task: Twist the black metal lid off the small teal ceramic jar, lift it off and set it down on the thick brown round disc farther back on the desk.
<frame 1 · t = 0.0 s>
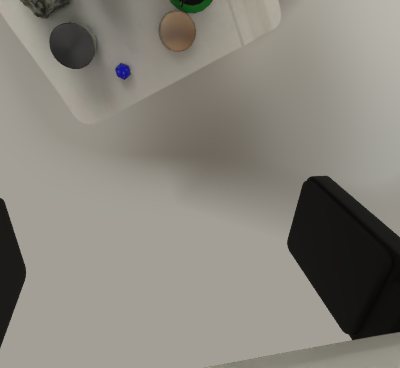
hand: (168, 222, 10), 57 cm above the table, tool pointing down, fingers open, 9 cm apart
brown round disc: (176, 31, 58), on the table
lid: (72, 46, 48), point 9 cm above the table, screwed on, not yet turned
die: (123, 70, 60), on the table
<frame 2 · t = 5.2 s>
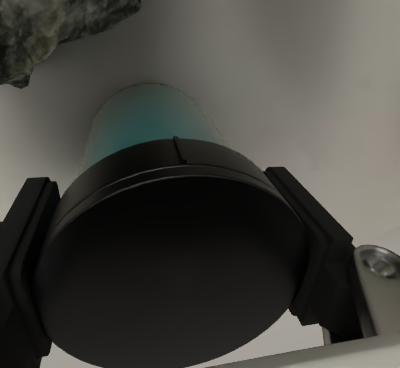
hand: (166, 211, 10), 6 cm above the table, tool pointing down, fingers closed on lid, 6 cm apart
lid: (180, 281, 8), point 9 cm above the table, screwed on, not yet turned, touching gripper
jar: (153, 145, 15), on the table
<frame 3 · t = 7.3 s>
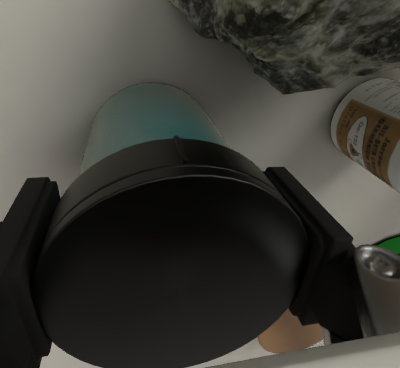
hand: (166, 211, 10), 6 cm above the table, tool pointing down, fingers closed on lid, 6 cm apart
brown round disc: (288, 305, 25), on the table
lid: (180, 281, 8), point 9 cm above the table, turned 61° so far, risen 0.2 cm, still on its thread, touching gripper
pill bottle: (361, 116, 17), on the table
jar: (153, 144, 15), on the table
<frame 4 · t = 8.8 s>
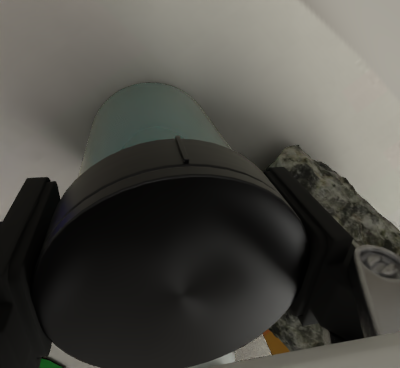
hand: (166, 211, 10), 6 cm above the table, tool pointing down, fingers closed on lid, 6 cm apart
supplement box: (282, 316, 26), on the table
rock: (293, 220, 20), on the table
lid: (180, 282, 8), point 9 cm above the table, off its thread, touching gripper
jar: (153, 143, 15), on the table
when the fingers open (5 cm above the table, at t = 9.8 s): lid stays where it is, resting on jar.
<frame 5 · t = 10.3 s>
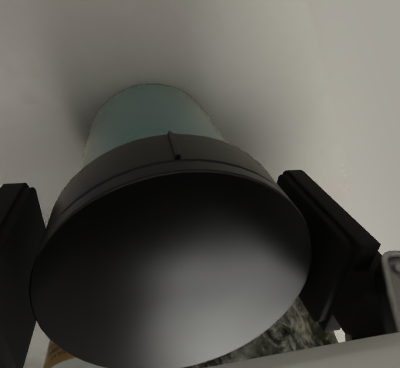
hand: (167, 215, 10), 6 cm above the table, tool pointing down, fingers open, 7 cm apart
rock: (230, 272, 21), on the table
lid: (181, 279, 7), point 9 cm above the table, off its thread, touching jar
pill bottle: (94, 303, 20), on the table
jar: (153, 146, 15), on the table, touching lid
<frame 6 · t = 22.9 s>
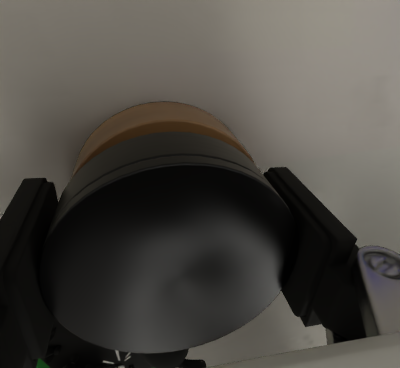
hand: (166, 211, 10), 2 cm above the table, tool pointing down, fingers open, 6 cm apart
brown round disc: (164, 185, 12), on the table
lid: (176, 266, 8), point 5 cm above the table, off its thread
toy figurine: (116, 322, 16), on the table
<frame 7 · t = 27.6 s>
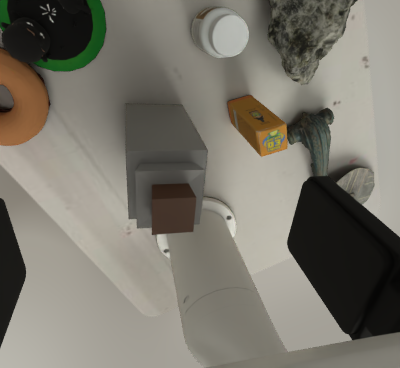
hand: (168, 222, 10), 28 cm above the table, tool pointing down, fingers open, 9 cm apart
perfume bottle: (154, 130, 38), on the table
decorative handle: (311, 152, 44), on the table, touching sculpture
supplement box: (240, 109, 39), on the table
rock: (287, 25, 35), on the table
pill bottle: (209, 29, 33), on the table
sculpture: (334, 200, 53), on the table, touching decorative handle
toy figurine: (53, 18, 30), on the table
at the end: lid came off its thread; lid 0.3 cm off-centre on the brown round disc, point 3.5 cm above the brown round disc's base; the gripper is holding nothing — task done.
